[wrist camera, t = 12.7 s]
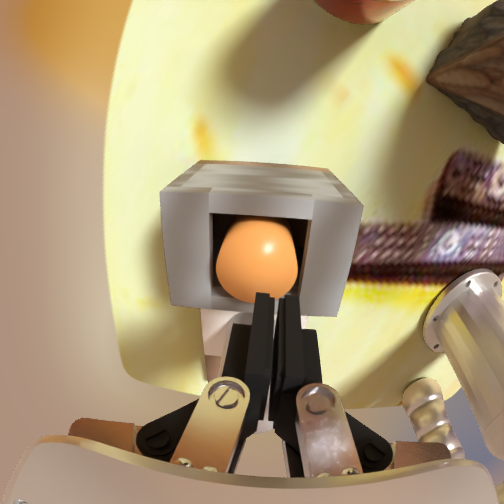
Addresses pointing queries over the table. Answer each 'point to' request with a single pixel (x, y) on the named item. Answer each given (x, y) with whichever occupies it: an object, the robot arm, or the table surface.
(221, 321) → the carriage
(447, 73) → the brown rock
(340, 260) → the rail base
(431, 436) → the plastic bottle
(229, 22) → the table surface
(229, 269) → the button
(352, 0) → the soda can
